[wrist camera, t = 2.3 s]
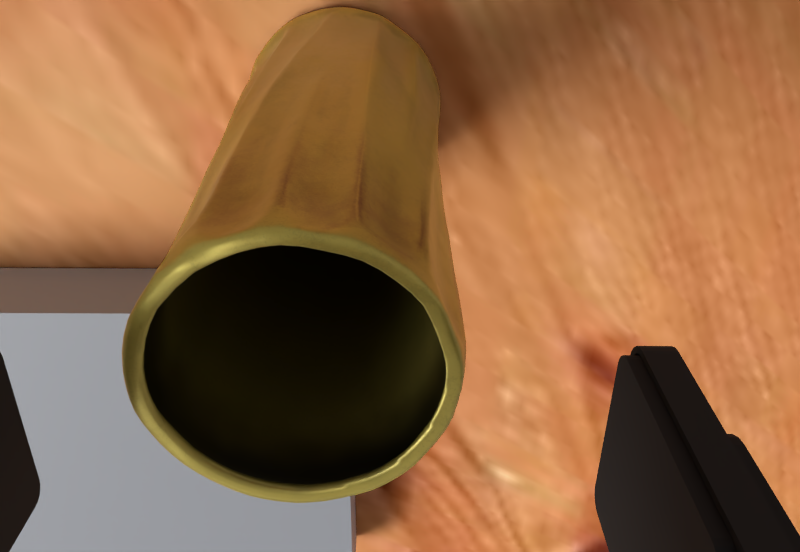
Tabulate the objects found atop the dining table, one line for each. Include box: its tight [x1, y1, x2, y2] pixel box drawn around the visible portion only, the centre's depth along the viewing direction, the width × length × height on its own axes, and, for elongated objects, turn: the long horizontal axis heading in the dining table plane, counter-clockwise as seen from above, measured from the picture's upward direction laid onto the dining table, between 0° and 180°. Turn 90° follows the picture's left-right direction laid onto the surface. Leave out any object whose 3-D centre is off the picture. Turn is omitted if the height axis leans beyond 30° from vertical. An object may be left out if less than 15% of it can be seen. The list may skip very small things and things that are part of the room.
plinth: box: [0, 268, 356, 552], centre depth 28 cm, size 14×14×3 cm
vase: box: [122, 7, 466, 503], centre depth 17 cm, size 6×6×14 cm
